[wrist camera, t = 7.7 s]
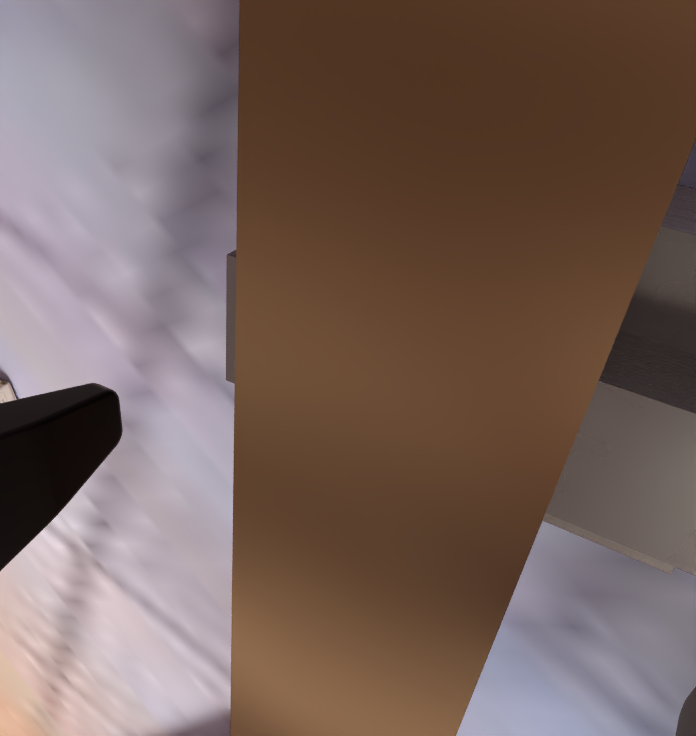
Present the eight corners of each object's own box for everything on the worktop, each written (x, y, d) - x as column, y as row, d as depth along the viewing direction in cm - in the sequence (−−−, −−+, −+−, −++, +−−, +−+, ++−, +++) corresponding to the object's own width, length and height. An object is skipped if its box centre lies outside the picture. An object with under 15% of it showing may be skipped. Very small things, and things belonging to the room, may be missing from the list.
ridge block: (827, 220, 12) (877, 329, 8) (678, 488, 16) (663, 649, 12) (353, 109, 15) (227, 151, 11) (326, 355, 19) (225, 448, 15)
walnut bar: (464, 698, 15) (399, 874, 12) (320, 622, 17) (230, 763, 14) (790, -134, 7) (849, -244, 3) (431, -161, 8) (242, -256, 5)
